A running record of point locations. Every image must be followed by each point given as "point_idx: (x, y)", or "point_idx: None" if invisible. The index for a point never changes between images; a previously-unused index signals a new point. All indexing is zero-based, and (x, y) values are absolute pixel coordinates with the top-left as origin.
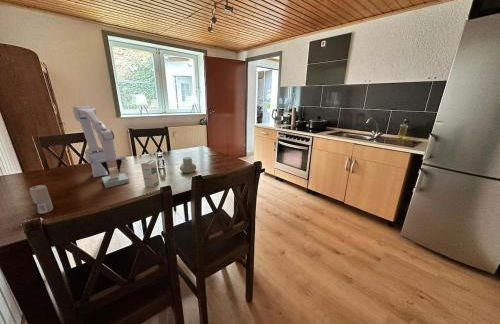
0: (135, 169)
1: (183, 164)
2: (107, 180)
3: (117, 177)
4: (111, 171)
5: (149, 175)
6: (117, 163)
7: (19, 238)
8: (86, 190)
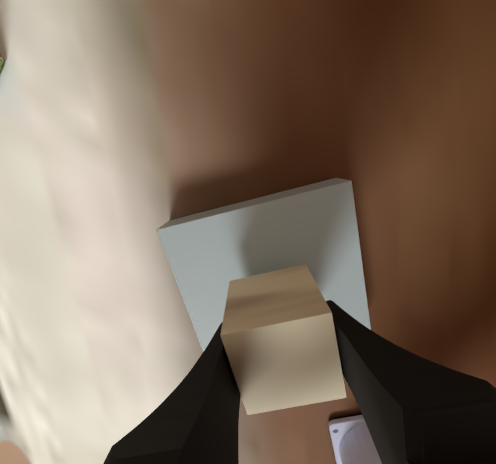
0: None
1: None
2: (329, 258)
3: None
4: (301, 307)
5: None
6: (192, 429)
7: None
8: (466, 182)
